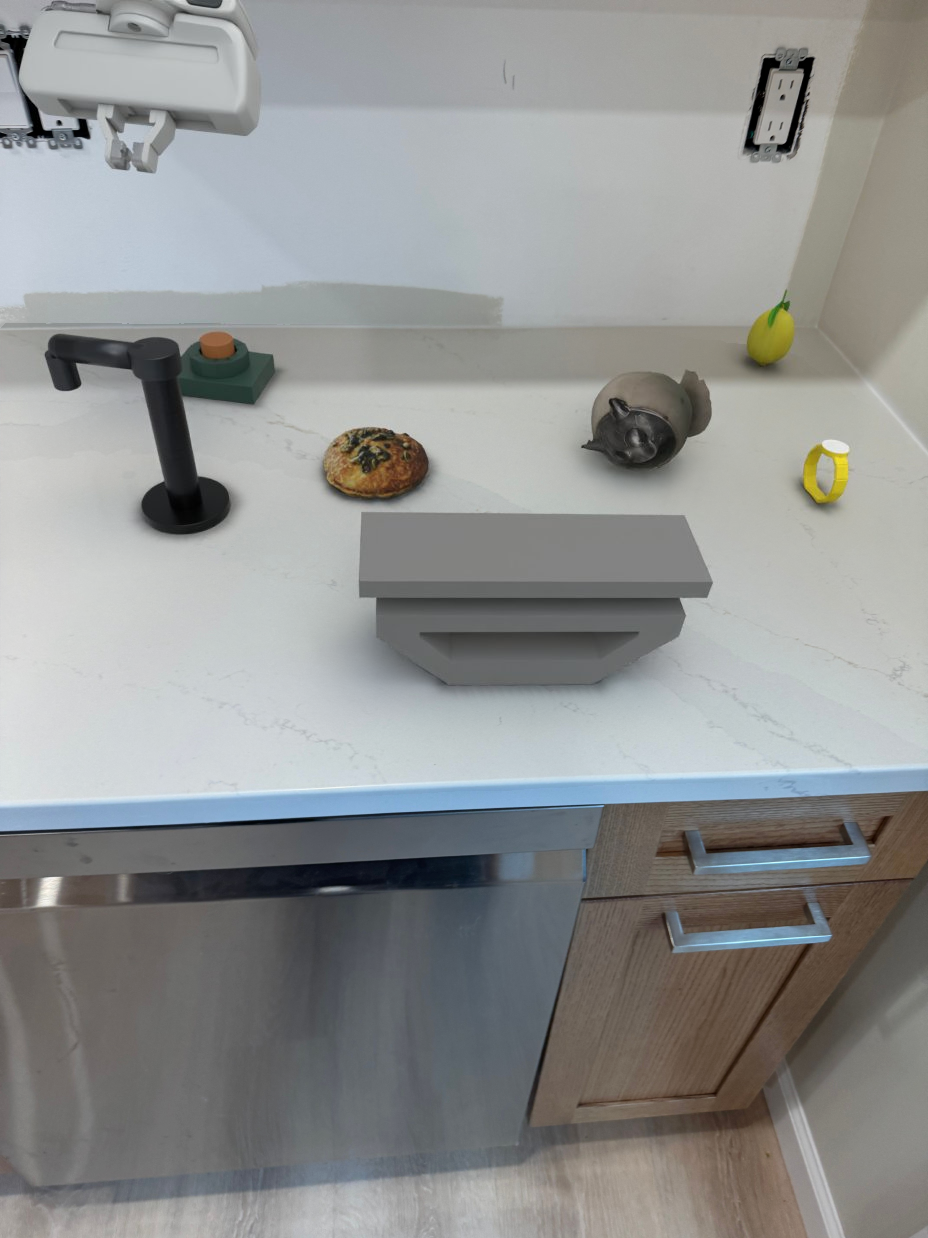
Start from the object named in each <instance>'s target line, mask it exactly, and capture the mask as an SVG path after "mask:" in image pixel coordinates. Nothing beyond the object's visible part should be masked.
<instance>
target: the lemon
mask: <svg viewBox="0 0 928 1238" xmlns="http://www.w3.org/2000/svg"><path fill="white" fill-rule="evenodd" d="M787 293H788V289H787V288H786V289H784V293H783V296H782V299H781V301H780V302H779V303H777V305H775V306H774V307H772V308H770V309H768V310H766V311H764V312H763V313H761V314H760V315H759V316H758V317H757V318H756V319H755V321H754V322H753V324H752V325H751V328H750V330H749V332H748V335H747V338H746V350H747V354H748V356H749V357H750V358H751V359H752V360H754V361H756V362H757V364H758V365H759V366H761V367H764V366H766V365H767V364H773V363H776V362H778V361H780V360H782V359H783V358H784V357H785V356H787V354H788V353H789V351H790V349H791V347H792V346H793V345H792V344H793V343H794V338H795V331H796V330H795V329H796V327H795V322H794V318H793V316H792V315H791V314H790V313H789V312H788V311H789V309H790V306H791V301H790V300H787V301H786V302H785V299H786V296H787Z"/></svg>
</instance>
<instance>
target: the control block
mask: <svg viewBox="0 0 928 1238" xmlns="http://www.w3.org/2000/svg"><path fill="white" fill-rule="evenodd" d="M233 343H234V350H235V354H234V355H232V356H230V357H227V358H220V359H212V358H206V357H204V356H203V355H202V350H201V344H200V340H198V341H195V342H193V343H192V344H190V345H189V346H188V348H187V349H186V350H184V352H183V354H182V355H181V360H182V366H183V370H182V372H181V373H180V374H179V375H178V377H179V383H180V388H181V393H182V396H186V397H192V398H193V397H194V398H203V399H208V400H209V399H210V400H217V401H218V400H219V401H225V402H234V403H242V404H248V405H249V404H250V405H254V404H255V403H256V402H257V400H258V399H259V397H260V395H261V394H262V392H263V390H264V389H265V387H266V386H267V385H268V383H269V381H270V380H271V378H272V376H273V375H274V374H275V372H276V370H275V359H274V354H272V353H264V352H256V351H249V348H248V346H247V344H246V343H245V342H243V341H241V340H239V339H237V338H234V337H233Z"/></svg>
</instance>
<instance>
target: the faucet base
mask: <svg viewBox="0 0 928 1238" xmlns="http://www.w3.org/2000/svg"><path fill="white" fill-rule="evenodd" d="M140 382H141V387H142V391H143V395H144V400H145V404H146V407H147V413H148V417H149V421H150V425H151V431H152V434H153V438H154V443H155V447H156V451H157V456H158V460H159V464H160V469H161V473H162V477H163V481H160V482H158V483H157V484H155V485H154V486H152V487H151V488H150V489H149V490H147V491H146V493H144V495H143V496H142V499H141V505H140V507H141V511H142V515H143V518H144V520H145V522H146V523H147V524H148V525H149V526H150V527H152V528H153V529H154V530H157V531H160V532H163V533H165V534H170V535H171V534H172V535H189V534H196V533H200V532H204V531H206V530H209V529H211V528H213V527H216V526H217V525H218V524H220V523H221V522H223V521H224V520H225V518H226V517H227V516H228V514H229V513H230V511H231V499H230V498H231V497H230V494H229V491H228V489H227V488H226V487H225V485H223V484H222V483H221V482H219V481H218V480H216V479H213V478H210V477H207V476H200V475H198V469H197V465H196V460H195V455H194V450H193V449H194V448H193V444H192V440H191V434H190V429H189V424H188V419H187V418H188V417H187V414H186V408H185V404H184V398H183V395H182V393H181V388H180V383H179V377H178V376H177V377H175V378H172V379H169V380H165V381H158V382H151V381H144V380H141V379H140Z"/></svg>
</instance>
